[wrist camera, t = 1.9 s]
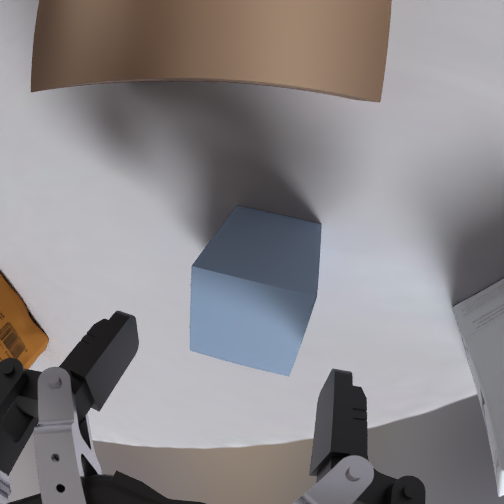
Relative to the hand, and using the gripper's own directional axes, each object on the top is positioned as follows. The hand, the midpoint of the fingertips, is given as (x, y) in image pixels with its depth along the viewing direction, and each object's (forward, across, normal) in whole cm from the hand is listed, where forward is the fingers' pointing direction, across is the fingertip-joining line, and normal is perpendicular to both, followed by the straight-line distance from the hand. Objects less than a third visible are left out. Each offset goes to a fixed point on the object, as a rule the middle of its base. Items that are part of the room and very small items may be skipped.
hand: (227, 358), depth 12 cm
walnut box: (+9, +4, -16) cm, 19 cm away
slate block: (+9, 0, 0) cm, 9 cm away
